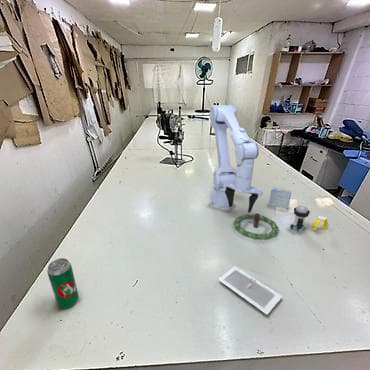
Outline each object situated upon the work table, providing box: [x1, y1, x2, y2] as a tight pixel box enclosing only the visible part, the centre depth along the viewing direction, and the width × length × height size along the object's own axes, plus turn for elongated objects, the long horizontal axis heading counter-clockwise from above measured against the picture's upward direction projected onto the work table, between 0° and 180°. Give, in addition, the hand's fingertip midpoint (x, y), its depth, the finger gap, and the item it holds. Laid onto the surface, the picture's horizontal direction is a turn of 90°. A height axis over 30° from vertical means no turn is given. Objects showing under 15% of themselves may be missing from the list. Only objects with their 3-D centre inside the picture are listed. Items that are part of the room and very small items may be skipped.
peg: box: [252, 212, 261, 229], centre depth 89 cm, size 8×8×6 cm
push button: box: [289, 205, 311, 232], centre depth 87 cm, size 7×5×10 cm
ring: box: [232, 213, 280, 241], centre depth 90 cm, size 16×16×2 cm
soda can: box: [46, 257, 80, 309], centre depth 57 cm, size 5×5×12 cm
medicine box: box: [268, 186, 292, 210], centre depth 105 cm, size 8×4×9 cm, turn 58°
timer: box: [312, 215, 329, 232], centre depth 88 cm, size 6×3×6 cm, turn 110°
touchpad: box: [217, 265, 283, 315], centre depth 63 cm, size 8×15×2 cm, turn 43°
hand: (240, 208), depth 91 cm, fingers open, 7 cm apart
